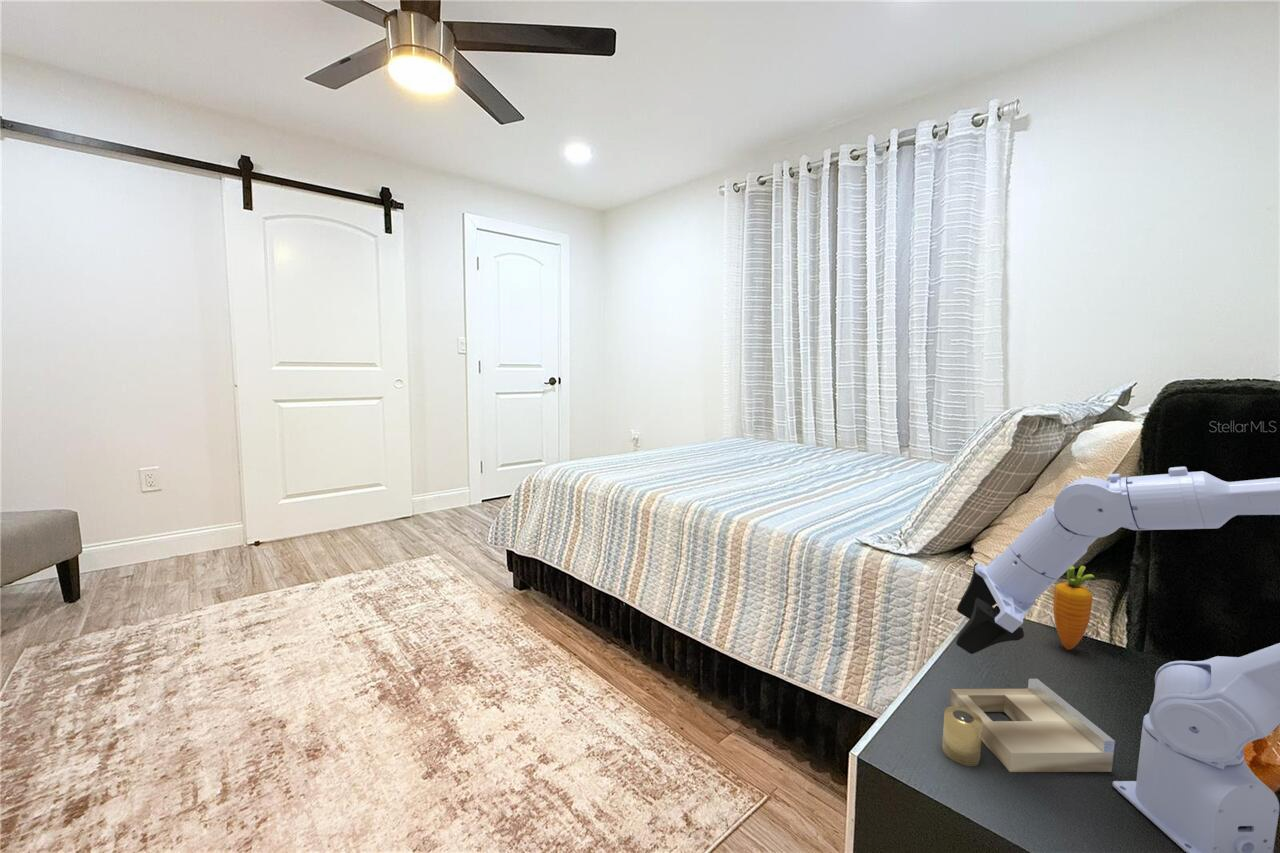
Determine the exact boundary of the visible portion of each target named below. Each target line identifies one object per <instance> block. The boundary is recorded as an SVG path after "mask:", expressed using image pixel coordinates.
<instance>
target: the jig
mask: <svg viewBox="0 0 1280 853" xmlns="http://www.w3.org/2000/svg"><path fill="white" fill-rule="evenodd" d="M1027 684H1028V685H1027V688H951V690H950V704H949V706H959V707H963V708H966V709H969V710H971V711H973V712H974V713H976V714H977V715H978V716H979V717H980V718H981V719H982V722H983V725H982V738H981V742H982V743H983V744H984V745H985V746H986V748H988V749H989V750H990V752H991V753H992V754H993V755H994V756H995V757H996V758H997V759H998V760H999V762H1001V764H1002V765H1003V766H1004V767H1005V768H1006V769H1007V771H1008V772H1009V773H1050V772H1051V773H1068V772H1069V773H1076V772H1077V773H1082V772H1083V773H1089V772H1090V773H1093V772H1096V773H1104V772H1105V773H1107V772H1109V773H1111V772H1112V770H1113V762H1114V755H1115V754H1114V752H1115V744H1116V740H1114V739H1113V738H1112V737H1111V736H1110V735H1108V734H1107V733H1106V732H1104V731H1103V730H1102V729H1101V728H1100V727H1098V726H1097V725H1096V724H1094V723H1093V722H1092V721H1091V720H1090V719H1088V718H1087V717H1086V716H1084V715H1083V714H1082V713H1081V712H1080V711H1079V710H1077V708H1075V707H1073V706H1072V705H1071V704H1069V703H1068V702H1067V701H1066V700H1065V699H1063V698H1062V696H1060V695H1058V694H1057V693H1056V692H1055V691H1053V690H1052V689H1051V688H1050V687H1048V686H1047V685H1046V684H1045V683H1044V682H1042V681H1041V680H1040V679H1038V678H1028V683H1027ZM985 712H986V713H991V712H992V713H994V712H995V713H996V712H997V713H1002V712H1003V713H1005V714H1006V715H1007V716H1008V717H1009V719H1011V720H996V721H995V720H994V721H993V720H992V719H991V718H990V717H989V716H988V715H987V714H986V713H985Z"/></svg>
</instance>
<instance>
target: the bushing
mask: <svg viewBox="0 0 1280 853" xmlns="http://www.w3.org/2000/svg"><path fill="white" fill-rule="evenodd" d="M982 725H983V722H982V719H981V718H980V717H979V716H978V715H977V714H976V713H974V712H973V711H971V710H969V709H966V708H963V707H959V706H950V705H949V706H947V707H946V708H944V714H943V730H942V732H943V733H942V742H941V743H942V745H941V746H942V747H941V749H942V751H943V754H945V756H946V757H947V758H948V759H950V760H951V761H953V762H955V763H957V764H960V765H962V766H966V767H967V766H968V767H973V766H977V765H978V764H979V763H980V761H981V753H982V752H981V750H982V749H981V748H982V740H981V738H982Z"/></svg>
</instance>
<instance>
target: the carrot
mask: <svg viewBox="0 0 1280 853" xmlns="http://www.w3.org/2000/svg"><path fill="white" fill-rule="evenodd" d="M1075 570H1076V568H1075V566H1074V565H1072V566H1071V567H1070V568H1069V569H1068V570H1067V571H1066V572H1065V573H1066V576H1067V582H1062V583H1060V582H1059V583H1056V584H1055V586H1054V589H1053V617H1054V624H1055V629H1056V632H1057V635H1058V637H1059V639H1060V641H1061V644H1062V646H1063V647H1064V648H1065V650H1067V651H1070V650H1072V649H1074V648H1075V647H1076V646H1077V645H1078V644H1079V643H1080V642H1081V640H1082V638H1083V637H1084V635H1085V633H1086V631H1087V627H1088V625H1089V622H1090V620H1091V618H1090V617H1091V612H1092V605H1093V598H1094V597H1093V595H1092V593H1091V592H1090V590H1089V588H1087V587H1086V586H1084V585H1082V584H1083V583H1084V582H1086V581H1088V580H1091V579H1095V575H1094V574H1092V573H1091V574H1090V573H1089V574H1085V575H1083V574H1084V572H1085V570H1086V566H1085V565H1080V567H1079V568H1078V571H1077V574H1076V576H1075Z"/></svg>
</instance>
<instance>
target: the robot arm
mask: <svg viewBox="0 0 1280 853" xmlns="http://www.w3.org/2000/svg"><path fill="white" fill-rule="evenodd" d="M1167 471H1168V473H1160V474H1151V475H1150V474H1149V475H1136V476H1135V475H1134V476H1124V477H1122V476H1121V474H1120V473H1110V474H1108V475H1107V476H1106V478H1107V480H1104V479H1102V478H1099V477H1081V478H1078V479H1075V480H1073V481H1072V482H1069V483H1068V484H1065V485H1064V487H1063V488H1062V490H1061V491H1059V493H1058V495H1057V496H1056V498H1055V500H1054V503H1053V504H1052V505H1051V506H1048V507H1046V508H1045V509H1044V511H1043V512H1042V513H1041V516H1038V517H1036V518H1035V519H1034V520H1032V521H1031V523H1030V524H1029V525H1028V526H1027V527H1026V528H1025V529H1024V530H1023V531H1022V532H1021V533H1020V534H1019V535H1018V537H1016V538H1015V539H1014V540H1013V541H1012V543H1011V544H1009V545H1008V547H1007V548H1005V550H1004V551H1003V552H1002V553H1001V554H1000V553H997V555H996V556H995V557H994V558H993V559H992V560H991V561H990V562H989V565H987V566H985V565H984V564H982V563H980V562H978V563H977V562H975V563H974V566H973V571H972V576H971V579H970V580H969V584H968V585H967V588H966V590H965V592H964V593H963V596H962V598H961V599H960V601H959V603H958V604H957V607H956V611H957V612H958V613H959V614H961V615H963V616H964V617H966V618H967V619H969V620H968V621H967V623H966V624H965V626H964V627H963V629H962V630H961V631H960V633H959V634H958V636H957V638H956V641H955V642H956V643H955V644H956V646H958V647H960V648H961V649H962V650H964V651H965V652H967V653H969V654H970V655H973V654H976V653H978V652H980V651H982V650H985V649H987V648H989V647H992V646H993V645H997V644H1000V643H1006V642H1013V641H1020V640H1022V639H1023V638H1024V637H1025V633H1024V628H1022V627H1021V626H1022V625H1023V623H1024V617H1025V616H1026V615H1027V613H1028V612H1029V611H1030V610H1031V609H1032V607H1033V606H1034V605H1035V604H1036V600H1037V599H1038V598H1040V596H1041V595H1043V593H1044V592H1046V591H1047V590H1048V589H1049V588H1051V586H1052V585H1053V584H1055V582H1057V581H1058V580H1059V579H1060V578H1061V577H1062V576H1063V575H1064V574H1066V573H1067V572H1066V571H1067V570H1068V569H1069V568H1070V567H1071V566H1074V564H1076V563H1077V562H1078V561H1079V560H1080V559H1081V558H1082V557H1083V556H1084V555H1085V554H1086V553H1087V552H1088V548H1089V547H1090V546H1091V545H1092V544H1093V543H1094V542H1095V541H1097V540H1098V538H1100V539H1101V538H1104V537H1105V538H1106V537H1108V536H1110V535H1111V534H1114V533H1115V532H1117V530H1119V529H1120V528H1124V529H1128V530H1132V531H1155V530H1156V531H1160V530H1162V531H1163V530H1165V531H1167V530H1168V531H1169V530H1197V529H1198V530H1201V529H1202V530H1203V529H1205V530H1206V529H1207V530H1208V529H1210V530H1211V529H1220V528H1221V527H1223V525H1225V524H1226V523H1227V522H1228V521H1229V520H1231V519H1232V518H1234V517H1236V516H1259V515H1260V516H1261V515H1262V516H1263V515H1265V516H1267V515H1268V516H1273V515H1275V516H1278V515H1279V516H1280V477H1269V478H1260V479H1259V478H1258V479H1248V480H1239V481H1238V480H1236V481H1225V480H1222V479H1220V478H1218V477H1216V476H1214V475H1212V474H1210V473H1208V472H1206V471H1203V470H1201V471H1188V468H1187V466H1174V467H1169V468H1168V470H1167ZM993 606H994V607H993ZM1154 685H1155V686H1154V694H1153V701H1152V703H1151V705H1150V708H1149V712H1148V713H1146V714H1145V715H1144V716H1143V720H1142V730H1141V735H1140V736H1141V738H1140V748H1139V756H1138V762H1137V772H1136V780H1120V781H1119V780H1113V781H1112V787H1114V789H1116V790H1117V792H1118V793H1120V794H1121V795H1122V796H1123V797H1124V798H1125V799H1126V800H1127V801H1129V803H1131V804H1132V805H1133V806H1134V807H1135V808H1136V809H1137V810H1138V811H1140V812H1141V813H1142V814H1143V815H1144V816H1145V817H1146V818H1147V819H1148V820H1150V821H1151V822H1152V823H1153V824H1154V825H1155V826H1157V827H1158V828H1159V829H1160V830H1161V831H1162V832H1163V833H1164V834H1165V835H1166V836H1168V837H1169V838H1170V839H1171V841H1173V842H1174V843H1176V845H1177V846H1179V847H1180V848H1181V849H1182V850H1183V851H1184V852H1186V853H1274V849H1275V841H1276V835H1277V829H1278V828H1277V827H1278V821H1279V816H1280V802H1279V799H1278V796H1277V795H1276V794H1275V792H1274V791H1273V790H1272V789H1271V788H1270V787H1268V786H1267V785H1266V784H1265V783H1264V782H1262V780H1260V779H1259V777H1257V776H1256V775H1255V773H1254V772H1253V771H1252V769H1251V768H1250V766H1248V764H1247V762H1246V760H1245V752H1244V747H1245V746H1247V745H1248V744H1249V743H1252V742H1254V741H1257V740H1261V739H1265V738H1267V737H1268V736H1269V735H1270V734H1272V732H1274V730H1276V728H1277V727H1278V726H1280V642H1279V643H1275V644H1273V645H1271V646H1267V647H1264V648H1261V649H1258V650H1255V651H1253V652H1249V653H1248V654H1245V655H1242V656H1239V657H1238V656H1219V655H1217V656H1214V657H1210V658H1208V659H1204V660H1197V661H1196V660H1195V661H1192V660H1191V661H1190V660H1174V661H1169V662H1167V663H1164V664H1163V665H1162V666H1160V667H1159V668H1158V669H1157V670H1156V673H1155V676H1154Z"/></svg>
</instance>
